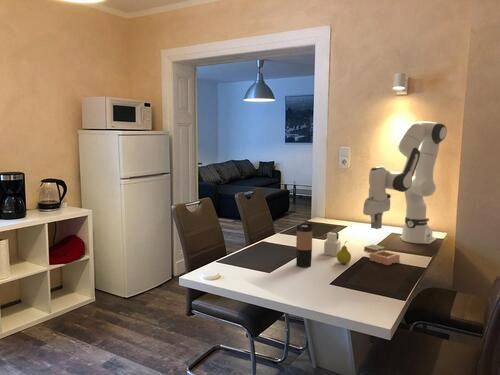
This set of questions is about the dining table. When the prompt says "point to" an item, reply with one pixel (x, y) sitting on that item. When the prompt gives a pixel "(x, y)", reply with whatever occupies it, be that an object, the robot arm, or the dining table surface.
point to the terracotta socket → (384, 257)
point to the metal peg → (377, 221)
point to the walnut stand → (373, 248)
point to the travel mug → (304, 245)
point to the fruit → (343, 255)
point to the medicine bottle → (332, 244)
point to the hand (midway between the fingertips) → (376, 220)
